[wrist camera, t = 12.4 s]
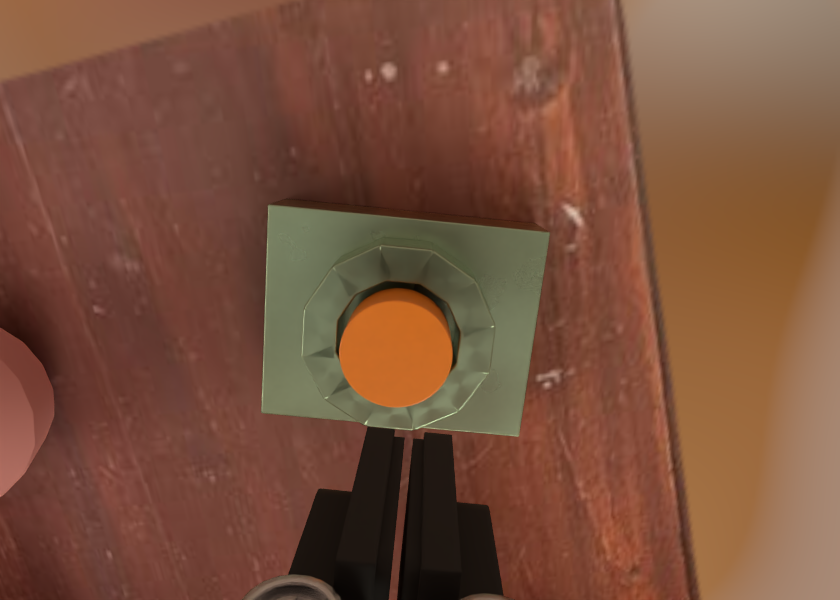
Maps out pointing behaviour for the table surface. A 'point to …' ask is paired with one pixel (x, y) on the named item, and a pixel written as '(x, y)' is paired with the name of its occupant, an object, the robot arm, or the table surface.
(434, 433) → the robot arm
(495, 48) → the table surface
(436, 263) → the control block
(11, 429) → the pink vase
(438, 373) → the button
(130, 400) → the table surface
